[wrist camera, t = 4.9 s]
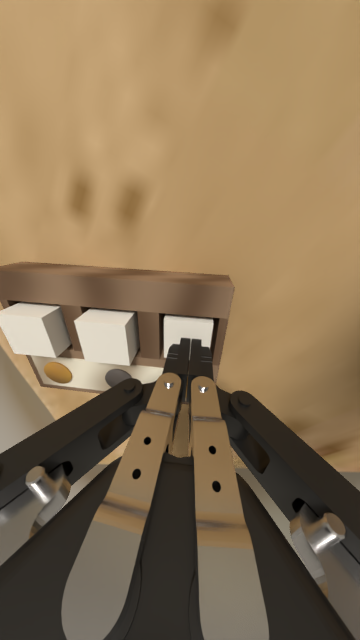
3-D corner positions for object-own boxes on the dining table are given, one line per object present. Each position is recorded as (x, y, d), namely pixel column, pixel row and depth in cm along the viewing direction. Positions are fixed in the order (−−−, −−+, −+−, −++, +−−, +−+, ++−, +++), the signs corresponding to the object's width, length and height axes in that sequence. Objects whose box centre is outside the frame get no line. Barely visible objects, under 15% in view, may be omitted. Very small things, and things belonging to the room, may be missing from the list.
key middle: (136, 309, 14) (124, 325, 12) (139, 346, 16) (129, 365, 14) (93, 306, 14) (73, 321, 12) (100, 342, 16) (85, 361, 14)
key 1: (65, 303, 15) (41, 317, 12) (75, 339, 16) (56, 357, 14) (24, 300, 15) (-7, 313, 13) (39, 336, 17) (14, 353, 14)
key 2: (211, 308, 15) (213, 323, 13) (206, 343, 17) (207, 361, 14) (169, 305, 15) (163, 319, 13) (168, 340, 17) (163, 357, 15)
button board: (228, 275, 14) (235, 288, 11) (209, 382, 20) (211, 409, 17) (22, 261, 15) (-20, 270, 12) (60, 366, 21) (38, 388, 18)
